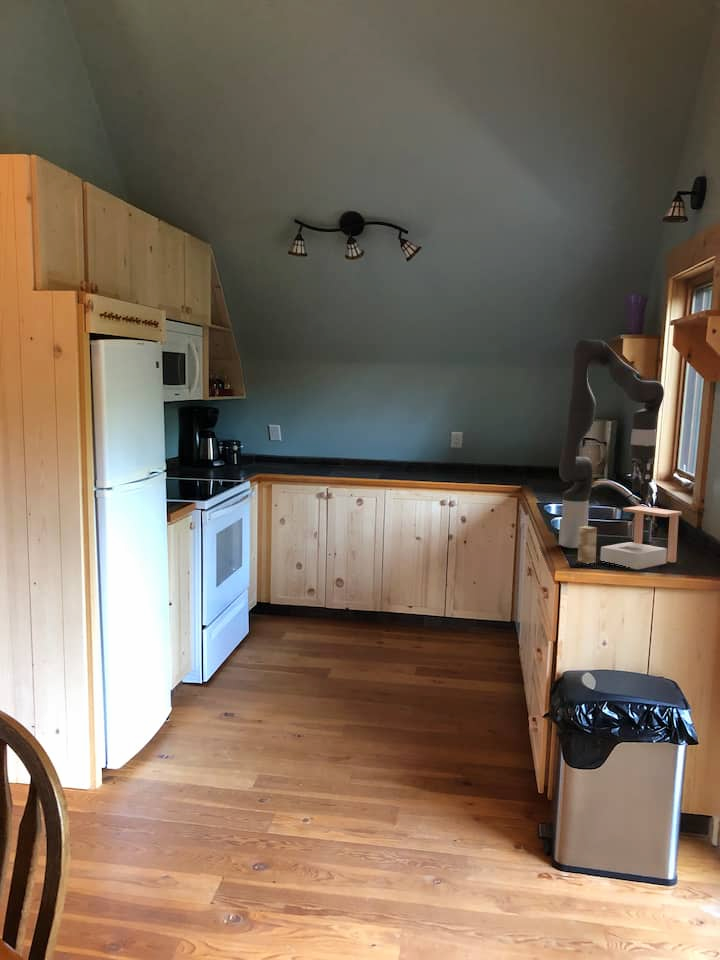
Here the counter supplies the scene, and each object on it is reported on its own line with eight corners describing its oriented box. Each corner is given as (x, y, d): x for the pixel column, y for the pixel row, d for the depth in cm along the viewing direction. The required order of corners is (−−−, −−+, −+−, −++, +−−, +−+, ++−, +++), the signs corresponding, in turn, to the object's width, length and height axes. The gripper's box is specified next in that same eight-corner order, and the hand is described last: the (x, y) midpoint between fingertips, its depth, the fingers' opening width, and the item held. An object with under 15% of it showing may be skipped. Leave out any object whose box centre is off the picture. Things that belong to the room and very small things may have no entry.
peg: (577, 562, 244) (579, 527, 242) (585, 561, 246) (586, 526, 245) (587, 565, 240) (589, 528, 239) (595, 563, 243) (596, 527, 242)
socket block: (600, 561, 246) (600, 546, 245) (629, 556, 255) (629, 541, 255) (637, 569, 235) (638, 554, 234) (666, 563, 244) (666, 548, 243)
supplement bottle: (644, 543, 278) (645, 512, 277) (628, 540, 283) (629, 510, 282) (654, 541, 282) (656, 510, 281) (638, 539, 287) (640, 508, 286)
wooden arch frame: (620, 556, 254) (622, 508, 252) (636, 553, 259) (639, 505, 258) (662, 565, 241) (665, 514, 239) (679, 561, 246) (681, 511, 245)
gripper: (624, 441, 243) (621, 490, 245) (637, 444, 229) (634, 496, 231) (648, 442, 242) (644, 490, 244) (662, 445, 228) (659, 497, 230)
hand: (639, 493), depth 238 cm, fingers open, 8 cm apart
